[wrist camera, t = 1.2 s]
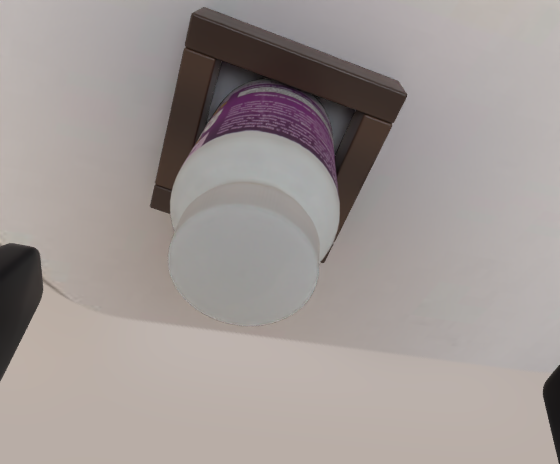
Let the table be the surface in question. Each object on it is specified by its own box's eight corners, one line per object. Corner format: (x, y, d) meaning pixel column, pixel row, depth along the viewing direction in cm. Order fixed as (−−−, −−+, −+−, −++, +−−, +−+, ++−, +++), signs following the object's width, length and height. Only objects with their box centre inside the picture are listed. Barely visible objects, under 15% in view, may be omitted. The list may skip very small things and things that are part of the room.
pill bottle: (204, 76, 19) (118, 175, 10) (334, 74, 18) (351, 175, 10) (217, 193, 21) (158, 344, 13) (330, 194, 21) (341, 348, 13)
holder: (323, 240, 22) (324, 264, 21) (162, 187, 21) (149, 207, 20) (399, 81, 18) (408, 94, 17) (203, 6, 17) (191, 12, 16)
